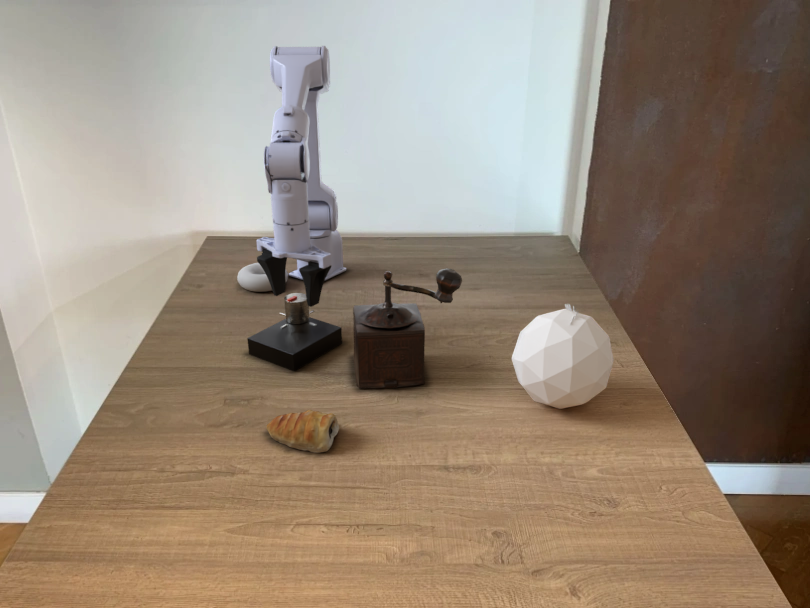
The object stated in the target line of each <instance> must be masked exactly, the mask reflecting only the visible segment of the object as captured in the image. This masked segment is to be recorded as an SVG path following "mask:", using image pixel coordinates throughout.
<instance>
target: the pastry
mask: <svg viewBox="0 0 810 608" xmlns="http://www.w3.org/2000/svg"><path fill="white" fill-rule="evenodd" d="M266 430H267V432H268V434H269V436H270V437H271V438H272V439H273V440H274V441H275V442H279V443H280V444H283V445H285V446H287V447H288V448H292V449H295V450H299V451H300V450H301V451H309V452H310V453H315V454H316V453H317V454H319V453H325V452H328V451H329V450H330V448H331V447H332V445H333V443H334V438H335V437H336V436H337V435H338V434H339V431H340V425H339V421H338V418H337V416H336V415H335V414H334V413H333V412H330V413H326V412H322V411H315V410H312V409H307V410H305V411H303V412H302V411H301V412H289V413H285V414H281V415H278V416H276V417H274V418H273V419H272V420H271V421H270V422H269V423H267V425H266Z"/></svg>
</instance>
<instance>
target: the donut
mask: <svg viewBox="0 0 810 608" xmlns="http://www.w3.org/2000/svg"><path fill="white" fill-rule="evenodd" d="M236 279H237V282H238V285H240V287H241V288H243V289H245V290H247V291H250V292H257V293H264V292H265V293H266V292H271V291H272V288H271V285H270V282H269V280H268V278H267V275H266V273H265V272H264V270H263V268H262V267H261V265H260V264H259V263H258V262H254V263H250V264H247V265H246V266H243V267H242V268H241V269H240V270H239V271H238V273H237V277H236ZM288 279H289V272H288V270H287V269H285V281H286V283H287V282H288ZM272 292H273V291H272Z"/></svg>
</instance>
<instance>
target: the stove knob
mask: <svg viewBox="0 0 810 608" xmlns="http://www.w3.org/2000/svg"><path fill="white" fill-rule="evenodd" d="M283 299H284V300H283V301H284V314H285V315H286V316H285V319H286V321H287V322H288V323H290V324H303V323H306V322H308V321H309V319H310V318H309V317H310V314H309V312H310V306H308V304H307V299H306V293H304V292H303V293H302V292H293V293H289V294H286V295H285V296H284V297H283Z"/></svg>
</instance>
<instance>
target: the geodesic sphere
mask: <svg viewBox="0 0 810 608" xmlns="http://www.w3.org/2000/svg"><path fill="white" fill-rule="evenodd" d="M610 338H611V337H610V335H609V334H608V333H607V332H606V331H605V330H604V329H603V328H602V326H600V324H599V323H598V322H597V320H595V319H594V317H593V316H591V315H587V314H584V313H580V311H579V310H577V308H575V306H574V305H572V306H571V304H570V303H564V308H562V309H558V310H554V311H550V312H547V313H543V314H539V315H536V316H535V317H534V318H533V319H532V320H531V321H530V322H529V323H528V324H527V325H526V326H525V327H524V328H523V329H521V330H520V332H519V334H518V337H517V340H516V344H515V346H514V350H513V352H512V355H511V361H512V362H511V363H512V365H513V368H514V371H515V372H514V373H515V375H516V378H517V382H518V383H519V384H520V385H521V387H522V388H523V389H524V390H525V392H526V393H527V394H528V396H529V397H530V398H531V399H532V401H533V402H536V403H539V404H542V405H545V406H548V407H552V408H556V409H558V410H561V409H567V408H572V407H576V406H581V405H584V404H586V403H588V402H589V401H591V400H592V399H593V398H595V397H596V396H598V395H599V394H600V393H601V392H603V391H604V390H605V389H607V386H608V384H609V380H610V375H611V372H612V369H613V365H614V361H615V359H614V354H613V349H612V344H611V339H610Z"/></svg>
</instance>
